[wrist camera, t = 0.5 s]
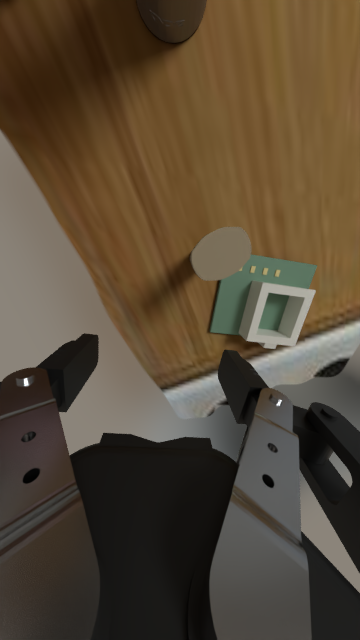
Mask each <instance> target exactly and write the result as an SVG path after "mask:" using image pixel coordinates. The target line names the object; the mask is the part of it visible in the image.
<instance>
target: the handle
mask: <svg viewBox="0 0 360 640" xmlns="http://www.w3.org/2000/svg"><path fill="white" fill-rule="evenodd" d="M250 256H251V243H250V239H249V237H248V235H247V233H246V232H245V231H244V230H243V229H242V228H241V227H223V228H220V229H217V230H215V231H214V232H212V233H210V234H208V235H206V236H204V237H203V238H202V239H201V240H200V241H199V242H198V244H197V245H196V246H195V247H194V249H193V250H192V252H191V255H190V262H191V265H192V268H193V270H194V272H195V273H196V274H197V276H198V277H200V278H201V279H203V280H221V279H224V278H226V277H229V276H231V275H233V274H235V273H236V272H238V271H239V270H240V269H241V268H242V267H243V266H244V265H245V263H246V262H247V261H248V260H249V259H250Z"/></svg>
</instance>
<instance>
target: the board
mask: <svg viewBox="0 0 360 640" xmlns="http://www.w3.org/2000/svg"><path fill="white" fill-rule="evenodd" d="M316 267H317V265H311V264H305V263H299V262H293V261H287V260H281V259H275V258H269V257H263V256H256V255H251V256H250V259H249V260H248V261H247V262H246V263H245V265H244V266H243V267H242V268H241V269H240V270H239V271H238V272H236V273H235V274H233V275H231V276H229V277H226V278H224V279H221V280H220V282H219V287H218V292H217V296H216V301H215V306H214V311H213V316H212V320H211V325H210V332H214V333H223V334H232V335H240V334H239V333H238V332H239V329H240V325H241V321H242V317H243V314H244V310H245V306H246V302H247V298H248V295H249V291H250V287H251V283H252V281H259V282H266V283H273V284H280V285H287V286H293V287H300V288H305V289H309V286H310V284H311V281H312V278H313V275H314V273H315V270H316ZM289 296H290V295H282V294H275V293H268V296H267V300H266V303H265V306H264V310H263V313H262V316H261V320H260V323H259V327H258V328H259V329H268V330H276V331H278V328H279V325H280V322H281V319H282V316H283V313H284V310H285V308H286V305H287V302H288V299H289Z"/></svg>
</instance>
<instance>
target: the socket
mask: <svg viewBox="0 0 360 640" xmlns="http://www.w3.org/2000/svg"><path fill="white" fill-rule="evenodd" d="M315 291H316V290H311V289H305V288H300V287H293V286H287V285H280V284H273V283H266V282H259V281H252V283H251V287H250V291H249V295H248V298H247V302H246V306H245V310H244V314H243V317H242V321H241V325H240V329H239V332H238V333H239V334H240V335H241V336H242V337H243V338H244V339H245V340H246V341H251V342H258V343H259V344H260V345H261V346H262V347H264V348H272V349H275V348H276V345H277V344H280V345H289V346H295V344H296V341H297V339H298V336H299V333H300V331H301V328H302V325H303V323H304V320H305V318H306V315H307V312H308V310H309V307H310V304H311V302H312V299H313V297H314V294H315ZM268 293H275V294H282V295H290V296H289V299H288V302H287V305H286V308H285V310H284V313H283V316H282V319H281V322H280V325H279V328H278V331H276V330H268V329H259V328H258V327H259V323H260V320H261V316H262V313H263V310H264V306H265V303H266V300H267V296H268Z"/></svg>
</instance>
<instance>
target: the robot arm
mask: <svg viewBox="0 0 360 640" xmlns="http://www.w3.org/2000/svg"><path fill="white" fill-rule="evenodd" d="M136 1H137V6H138V9H139V11H140V14H141V17H142V19H143V20H144V22H145V24H146V26H147V27H148V28H149V29H150V31H151V32H152V33H153V34H154V35H155V36H157V37H158V38H159V39H161V40H163V41H166V42H170V43H177V42H182V41H184V40H186V39H188V38H189V37H190V36H191V35H192V34H193V33H194V32H195V30H196V29H197V28H198V26H199V24H200V22H201V20H202V18H203V14H204V11H205V7H206V1H207V0H136ZM97 362H98V335H93V334H82V335H81V336H80V337H79V338H78V339H77V340H76V341H70V342H68V343H65V344H64V345H62V346H61V347H60V348H59V349H58V350H56V351H55V352H54V353H53V354H51V355H50V356H49V357H48V358H47V359H45V360H44V361H43V362H42V363H40V364H39V365H38V366H37V367H36V368H26V369H22V370H19V371H16V372H13V373H12V374H10V375H8V376H7V377H6V378H4V379H3V381H2V382H0V640H360V593H359V592H358V591H357V590H356V589H355V588H354V587H353V586H352V585H351V584H350V582H349V581H348V580H347V579H346V578H345V577H344V576H343V575H342V574H341V573H340V572H339V571H338V570H337V569H336V567H335V566H334V565H333V564H332V563H331V562H330V561H329V560H328V559H327V558H326V557H325V556H324V555H323V554H322V553H321V552H320V550H319V549H318V548H317V547H316V546H315V545H314V544H313V543H312V542H311V541H310V540H309V539H308V538H307V537H306V536H305V534H304V533H303V532H302V531H301V519H300V518H301V516H300V474H299V469H300V471H301V473H302V474H303V476H304V478H305V480H306V481H307V483H308V485H309V486H310V488H311V490H312V492H313V493H314V495H315V497H316V499H317V500H318V502H319V504H320V505H321V507H322V509H323V511H324V512H325V514H326V516H327V518H328V519H329V521H330V523H331V525H332V526H333V528H334V530H335V531H336V533H337V535H338V537H339V538H340V540H341V542H342V544H343V545H344V547H345V549H346V550H347V552H348V554H349V556H350V557H351V559H352V561H353V563H354V564H355V566H356V568H357V569H358V571H359V573H360V432H359V431H358V430H357V429H356V428H355V427H354V426H353V425H352V424H351V423H350V422H349V421H348V420H347V419H346V418H345V417H344V416H342V415H341V414H340V413H339V412H337V411H336V410H334V409H333V408H331V407H329V406H326V405H324V404H321V403H317V402H315V403H312V404H311V405H310V407H309V409H308V410H307V409H303V408H300V407H297V406H294V405H293V404H292V402H291V400H290V399H289V398H288V397H287V396H286V395H284V394H283V393H281V392H279V391H277V390H275V389H271V388H269V387H268V386H267V384H266V383H265V382H264V381H263V379H262V378H261V377H260V376H259V375H258V373H257V372H256V370H255V369H254V368H253V367H252V365H251V364H250V363H248V362H247V361H246V360H244V359H242V357H241V356H240V355H239V353H238V352H237V351H233V350H224V352H223V354H222V358H221V362H220V365H219V369H218V379H219V381H220V384H221V386H222V389H223V391H224V393H225V396H226V398H227V401H228V403H229V405H230V408H231V410H232V412H233V415H234V417H235V420H236V422H237V423H238V424H246V425H247V429H246V431H245V434H244V438H243V441H242V444H241V447H240V450H239V453H238V456H237V459H236V462H235V461H234V460H233V459H231V458H230V457H229V456H227V455H226V454H224V453H222V452H220V451H218V450H216V449H213V448H212V445H211V440H210V438H193V437H183V438H179V439H174V440H170V441H165V442H160V443H157V442H153V441H150V440H147V439H144V438H141V437H138V436H134V435H132V434H114V433H103V435H102V438H101V441H100V443H98V444H93V445H90V446H88V447H85V448H83V449H80V450H78V451H77V452H75V453H73V454H71V455H70V456H69V452H68V448H67V444H66V440H65V436H64V432H63V428H62V424H61V420H60V416H59V412H67V410H68V409H69V407H70V406H71V404H72V402H73V401H74V400H75V398H76V396H77V395H78V394H79V392H80V391H81V389H82V387H83V386H84V384H85V383H86V381H87V380H88V378H89V377H90V375H91V374H92V372H93V371H94V369H95V368H96V366H97ZM333 451H334V452H335V453H336V455H337V456H338V457H339V458H340V459H341V461H342V462H343V463H344V464H345V466H346V467H347V468H348V470H349V471H350V473H351V476H352V481H353V483H352V486H351V487H349V486H348V485H347V483H346V482H345V481H344V479H343V478H342V477H341V475H340V474H339V473H338V471H337V470H336V469H335V467H334V466H333V465H332V463H331V462H330V461H329V458H330V456H331V454H332V453H333Z"/></svg>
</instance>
